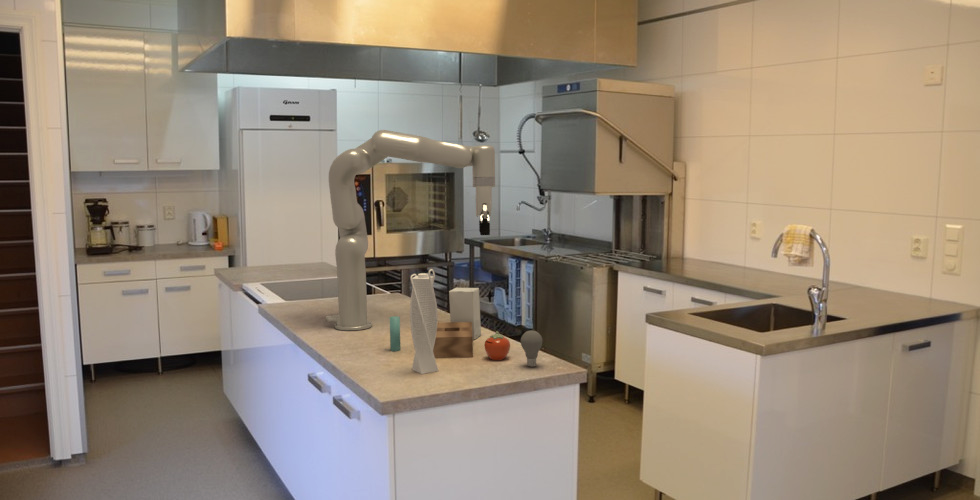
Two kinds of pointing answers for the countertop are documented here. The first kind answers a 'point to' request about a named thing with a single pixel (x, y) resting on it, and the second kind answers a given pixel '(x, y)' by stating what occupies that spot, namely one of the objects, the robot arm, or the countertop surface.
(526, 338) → the light bulb
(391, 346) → the teal peg
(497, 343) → the tomato
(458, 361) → the countertop surface
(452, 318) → the skincare box
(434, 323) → the skyscraper
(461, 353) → the walnut socket block
